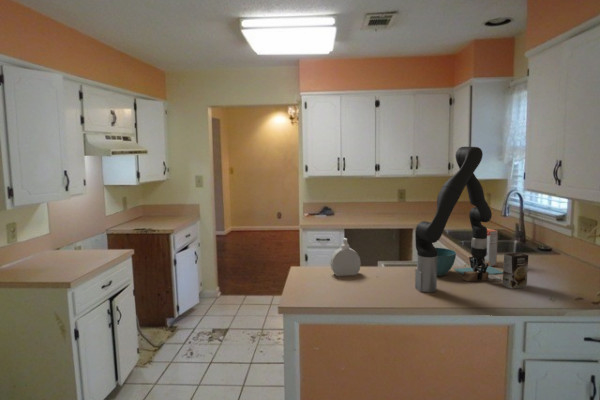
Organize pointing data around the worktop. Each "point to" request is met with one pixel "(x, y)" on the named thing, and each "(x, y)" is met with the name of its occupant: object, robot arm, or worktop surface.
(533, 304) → the worktop surface
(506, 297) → the worktop surface
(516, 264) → the coffee box
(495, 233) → the cracker box
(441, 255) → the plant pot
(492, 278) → the tall cardboard-brown block
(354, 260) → the soap bottle
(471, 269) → the mat
